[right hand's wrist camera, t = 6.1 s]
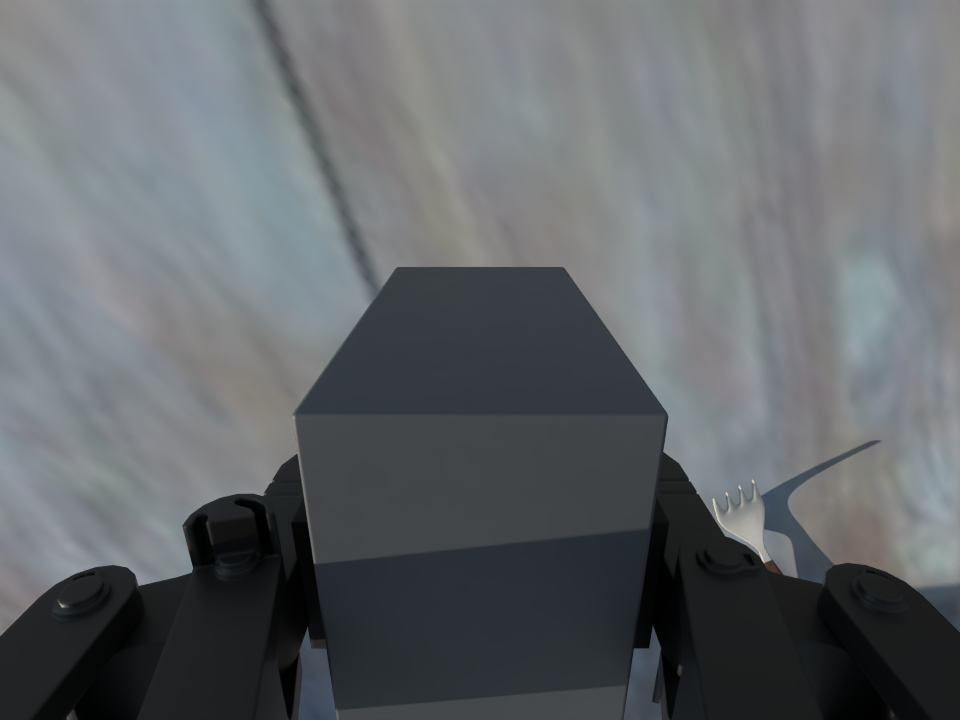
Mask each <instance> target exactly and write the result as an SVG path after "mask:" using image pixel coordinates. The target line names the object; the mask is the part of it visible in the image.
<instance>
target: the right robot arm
mask: <svg viewBox="0 0 960 720" xmlns="http://www.w3.org/2000/svg"><path fill="white" fill-rule="evenodd" d="M183 530H184V534H185V538H186V542H187V546H188V550H189V554H190V557H191V561H192V565H193V571H192V573H190V574H186V575H183V576H180V577H176V578H172V579H168V580H163V581H159V582H154V583H150V584H146V585H141V586H138V583H137V579H136V576H135V574H134V573H133V572H132V571H130V570H129V569H128V568H126V567H121V566H115V565H110V566H102V567H95V568H92V569H89V570H86V571H83V572H80V573H77V574H74V575H72V576H71V577H69V578H67V579H65V580H63V581H61V582H59V583H57V584H56V585H54V586H53V587H52V588H51V589H49V590H48V591H47V592H46V593H44V594H43V595H42V596H41V597H39V598H38V599H37V600H36V601H35V602H34V603H33V604H32V605H31V606H30V607H29V608H28V609H27V610H26V611H25V612H24V613H23V614H22V615H21V616H20V617H19V618H18V619H17V620H16V621H15V622H14V623H13V624H12V625H11V626H10V627H9V628H8V629H7V630H6V631H5V632H4V633H3V634H2V635H1V636H0V720H298V713H299V702H300V691H301V680H302V665H301V658H300V653H299V649H300V647H301V644H302V641H303V638H304V636H305V633H306V630H307V627H308V630H309V636H310V643H311V648H326V642H325V635H324V628H323V621H322V615H321V608H320V601H319V595H318V588H317V581H316V574H315V568H314V561H313V554H312V547H311V541H310V534H309V527H308V521H307V514H306V507H305V500H304V494H303V487H302V480H301V473H300V467H299V460H298V454H296V455H295V456H293V457H292V458H291V459H289V460H288V461H287V462H285V463H284V464H283V465H281V467H280V469H279V470H278V472H277V473H276V475H275V477H274V478H273V480H272V483H270V485H269V486H268V488H267V489H266V491H265V492H264V496H260V495H256V494H235V495H231V496H227V497H222V498H219V499H217V500H215V501H212V502H210V503H208V504H205V505H203V506H202V507H201V508H199V509H198V510H197V511H195V512H194V513H192V514H191V515H190V516H189V518H188V519H187V520H186V522H185V523H184V524H183ZM652 626H654V629H655V632H656V635H657V638H658V640H659V643H660V646H661V653H660V658H659V664H658V670H657V676H656V681H655V687H654V693H653V700H652V702H655V703H659V701H661V711H662V720H960V632H959V631H958V630H957V629H956V628H955V627H954V626H953V625H952V624H951V623H950V622H949V621H948V620H947V619H946V618H945V617H944V616H943V615H942V614H940V613H939V612H938V611H937V610H936V609H935V608H934V607H933V606H932V605H931V604H930V603H929V602H928V601H927V600H926V599H925V598H924V597H923V596H922V595H921V594H920V593H919V592H917V591H916V590H915V589H914V588H912V587H911V586H910V585H908V584H907V583H906V582H904V581H902V580H900V579H899V578H897V577H895V576H893V575H891V574H889V573H887V572H885V571H882V570H879V569H876V568H873V567H870V566H867V565H860V564H852V563H845V564H840V565H834V566H833V567H832V568H831V569H829V570H828V571H827V572H826V574H825V578H824V581H823V584H820V583H815V582H811V581H807V580H802V579H798V578H793V577H789V576H785V575H781V574H778V573H775V572H771V571H769V570H767V568H766V566H765V564H764V563H763V561H762V560H761V558H760V557H759V556H758V555H757V554H756V553H755V552H753V551H752V550H751V549H750V548H749V547H747V546H746V545H744V544H742V543H740V542H738V541H736V540H734V539H732V538H729V537H725V535H724V534H723V532H722V531H721V529H720V528H719V526H718V524H717V523H716V521H715V520H714V518H713V517H712V515H711V513H710V512H709V510H708V509H707V507H706V505H705V504H704V502H703V501H702V499H701V498H700V496H699V494H697V493H696V490H695V488H694V486H693V485H692V483H691V482H689V479H688V477H687V475H686V474H685V472H684V471H683V469H682V467H681V466H680V464H679V463H677V462H676V461H675V460H673V459H672V458H671V457H669V456H668V455H667V454H665V453H664V452H663V456H662V463H661V469H660V476H659V483H658V489H657V496H656V503H655V510H654V516H653V523H652V530H651V536H650V543H649V550H648V556H647V563H646V570H645V577H644V583H643V590H642V597H641V603H640V610H639V617H638V624H637V630H636V637H635V644H634V648H649V645H650V639H651V632H652Z"/></svg>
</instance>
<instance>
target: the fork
mask: <svg viewBox="0 0 960 720" xmlns="http://www.w3.org/2000/svg"><path fill="white" fill-rule="evenodd" d="M739 497H740V503H739V504H738V505H735V504H734V503H733V501H732V499H731V498H730V496H729V494H728V493H727V492H726V500H727V506H728V508H727V510H725V511H723V510H722V509H721V508H720V506H719V504H718V503H717V502H716V500H715V498H713V503H714V508H715V512H716V515H717V519H718V521H719V523H720V524H721V525H722V526H723V527H724V528H725V529H726V530H728V531H729V532H731V533H732V534H734V535H736V536H738V537H739V538H741V539H743V540H745V541H746V542H748V543H750V544H751V545H753V546H754V547H755V548H756V549H757V550H758V552H759V554H760V556H761V558H762V561H763V563H764V564H765V566H766V568H767V570H769V571H771V572H775V573H778V574H781V575H783V574H782V572H781V571H780V570H779V568H778V567H777V566H776V564H775V563H774V561H773V560H772V559H771V557H770V556H769V554H768V553H767V551H766V549H765V546H764V523H765V506H764V502H763V499H762V498H761V496H760V494H759V491H758V489H757V486H756V484H755V480H754V479H752V498H751V499H747V498H746V496H745V494H744V492H743V490H742V488H741V486H739Z"/></svg>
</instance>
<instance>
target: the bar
mask: <svg viewBox="0 0 960 720" xmlns="http://www.w3.org/2000/svg"><path fill="white" fill-rule="evenodd" d="M292 420H293V426H294V433H295V440H296V447H297V453H298V460H299V467H300V473H301V480H302V487H303V494H304V500H305V507H306V514H307V521H308V527H309V534H310V541H311V547H312V554H313V561H314V568H315V574H316V581H317V588H318V595H319V601H320V608H321V615H322V621H323V628H324V635H325V642H326V648H327V655H328V662H329V669H330V675H331V682H332V689H333V695H334V702H335V709H336V716H337V720H623V718H624V711H625V704H626V697H627V691H628V684H629V677H630V671H631V664H632V657H633V650H634V644H635V637H636V630H637V624H638V617H639V610H640V603H641V597H642V590H643V583H644V577H645V570H646V563H647V556H648V550H649V543H650V536H651V530H652V523H653V516H654V510H655V503H656V496H657V489H658V483H659V476H660V469H661V463H662V456H663V449H664V442H665V436H666V429H667V422H668V414H667V412H666V411H665V410H664V408H663V407H662V405H661V404H660V402H659V401H658V400H657V398H656V397H655V395H654V394H653V393H652V391H651V390H650V388H649V387H648V386H647V384H646V383H645V381H644V380H643V378H642V377H641V376H640V374H639V373H638V371H637V370H636V369H635V367H634V366H633V364H632V363H631V362H630V360H629V359H628V357H627V356H626V354H625V353H624V352H623V350H622V349H621V347H620V346H619V345H618V343H617V342H616V340H615V339H614V338H613V336H612V335H611V333H610V332H609V330H608V329H607V328H606V326H605V325H604V323H603V322H602V321H601V319H600V318H599V316H598V315H597V314H596V312H595V311H594V309H593V308H592V307H591V305H590V304H589V302H588V301H587V299H586V298H585V297H584V295H583V294H582V292H581V291H580V290H579V288H578V287H577V285H576V284H575V283H574V281H573V280H572V278H571V277H570V275H569V274H568V273H567V271H566V270H565V268H563V267H397V268H396V269H395V270H394V272H393V273H392V275H391V276H390V278H389V279H388V280H387V282H386V283H385V285H384V286H383V287H382V289H381V290H380V292H379V293H378V294H377V296H376V297H375V299H374V300H373V301H372V303H371V304H370V306H369V307H368V309H367V310H366V311H365V313H364V314H363V316H362V317H361V318H360V320H359V321H358V323H357V324H356V325H355V327H354V328H353V330H352V331H351V332H350V334H349V335H348V337H347V338H346V340H345V341H344V342H343V344H342V345H341V347H340V348H339V349H338V351H337V352H336V354H335V355H334V356H333V358H332V359H331V361H330V362H329V363H328V365H327V366H326V368H325V369H324V371H323V372H322V373H321V375H320V376H319V378H318V379H317V380H316V382H315V383H314V385H313V386H312V387H311V389H310V390H309V392H308V393H307V394H306V396H305V397H304V399H303V400H302V401H301V403H300V404H299V406H298V407H297V409H296V410H295V411H294V413H293V416H292Z"/></svg>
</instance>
